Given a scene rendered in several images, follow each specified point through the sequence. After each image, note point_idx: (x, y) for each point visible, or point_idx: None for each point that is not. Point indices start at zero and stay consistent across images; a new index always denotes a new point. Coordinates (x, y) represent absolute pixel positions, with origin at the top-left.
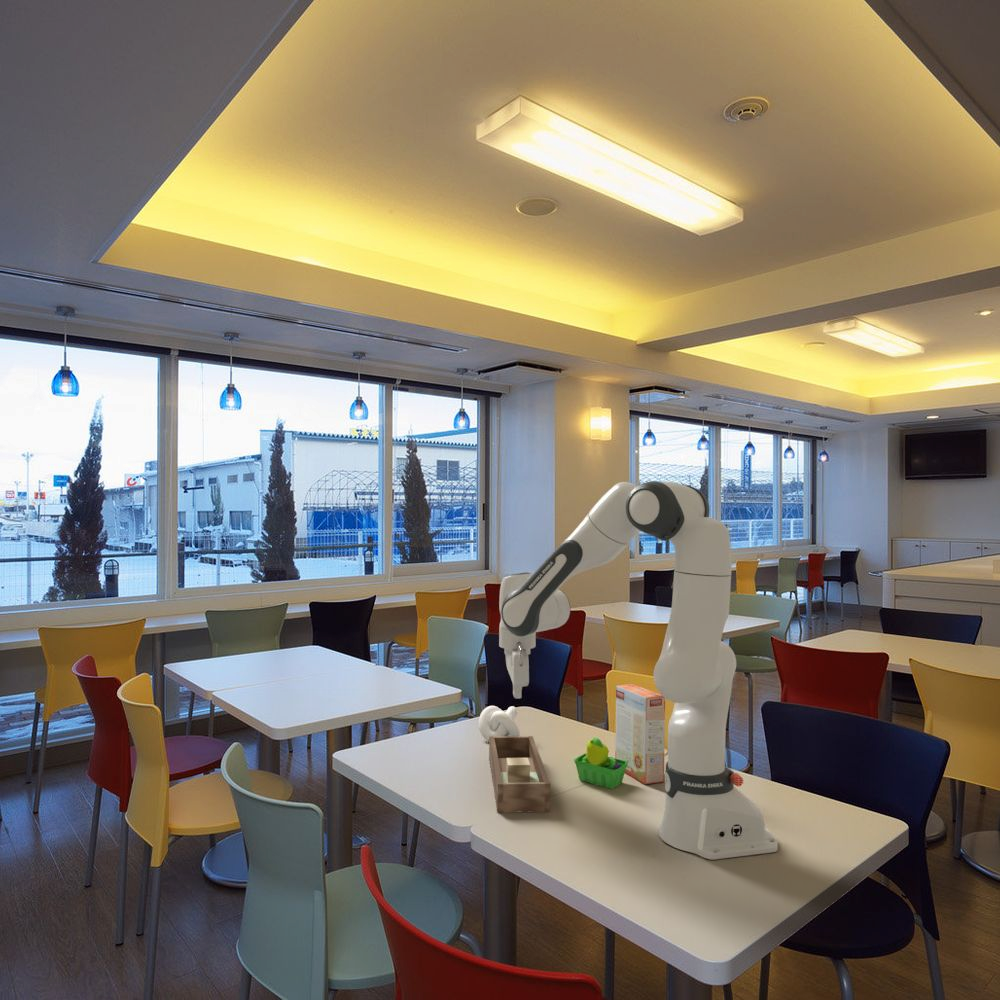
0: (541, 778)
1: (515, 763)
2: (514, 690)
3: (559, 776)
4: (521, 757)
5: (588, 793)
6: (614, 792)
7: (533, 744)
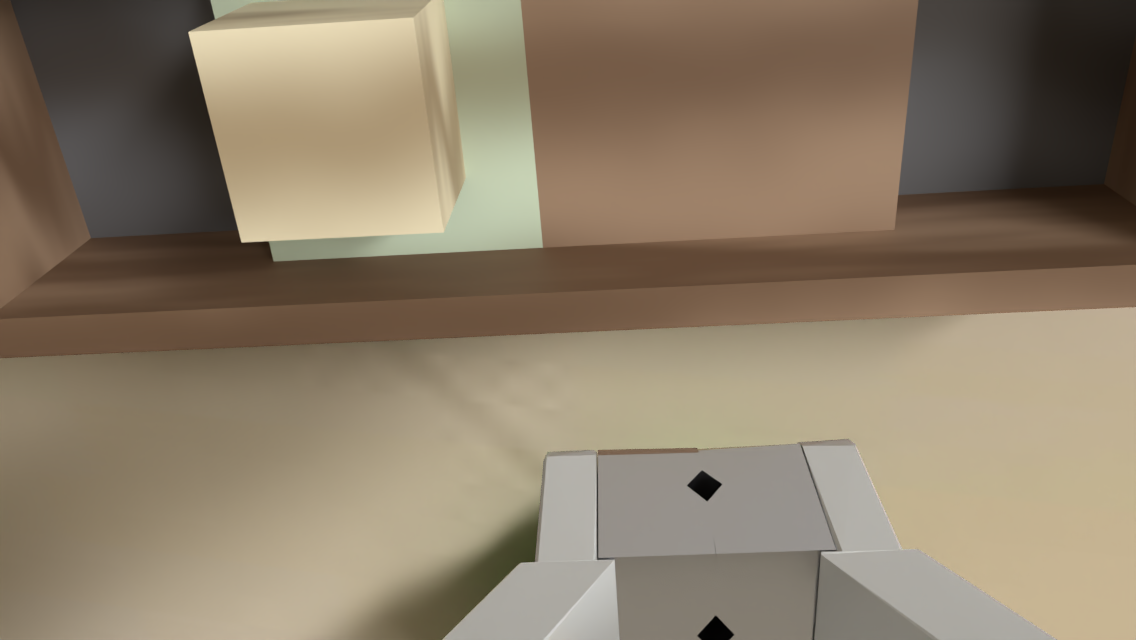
0: (166, 296)
1: (254, 109)
2: (508, 584)
3: (713, 374)
4: (1126, 130)
5: (420, 500)
6: (451, 617)
7: (967, 294)
